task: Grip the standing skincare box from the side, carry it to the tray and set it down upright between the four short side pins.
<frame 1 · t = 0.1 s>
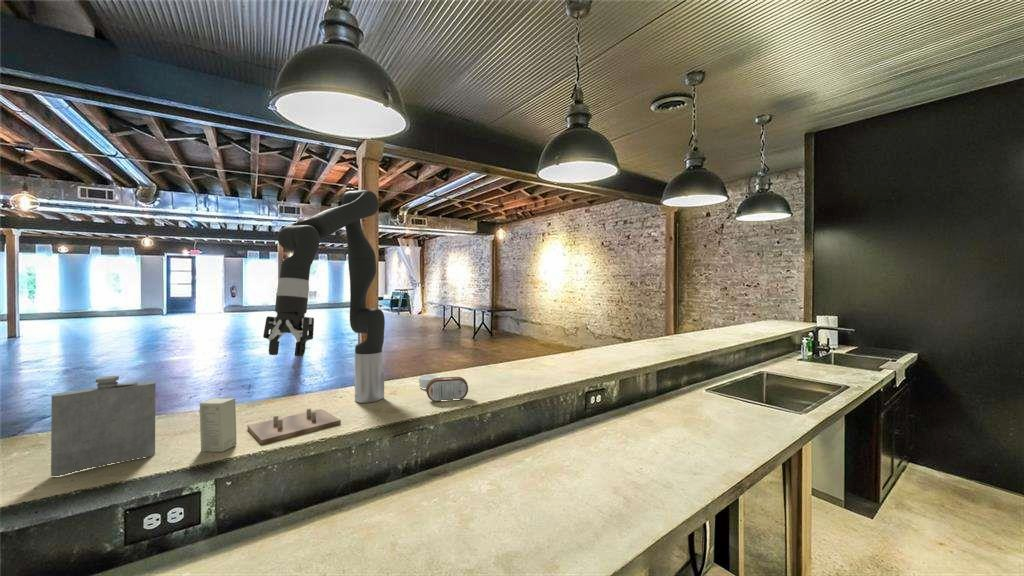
hand: (285, 355, 99), 22 cm above the worktop, tool pointing down, fingers open, 8 cm apart
skincare box: (218, 449, 92), on the worktop
pin tray: (295, 426, 107), on the worktop
hip flask: (106, 465, 84), on the worktop
ramekin: (429, 388, 150), on the worktop
tin: (447, 401, 132), on the worktop
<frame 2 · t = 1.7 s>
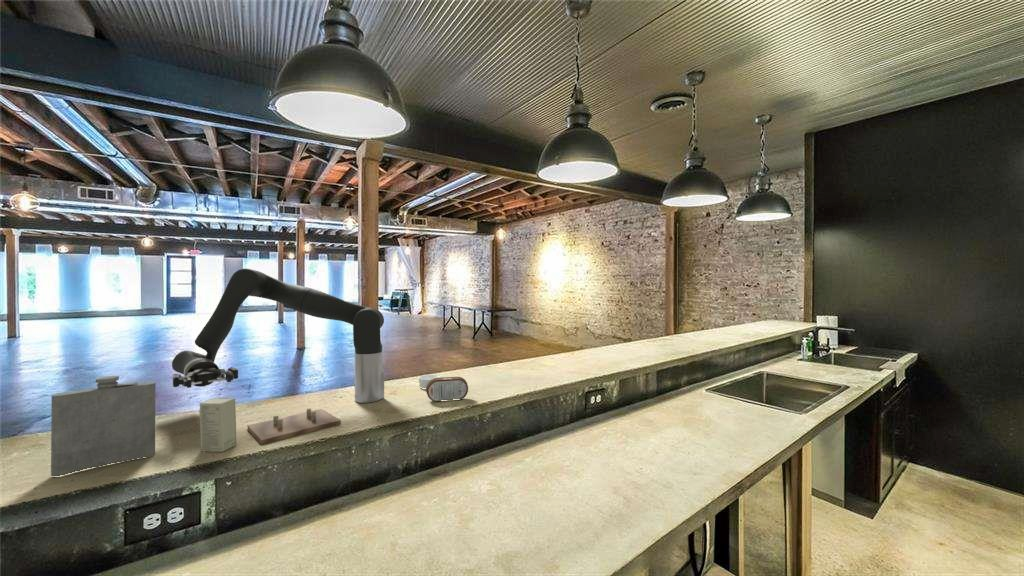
hand: (210, 381, 100), 15 cm above the worktop, tool horizontal, fingers open, 8 cm apart
nothing on the worktop moved.
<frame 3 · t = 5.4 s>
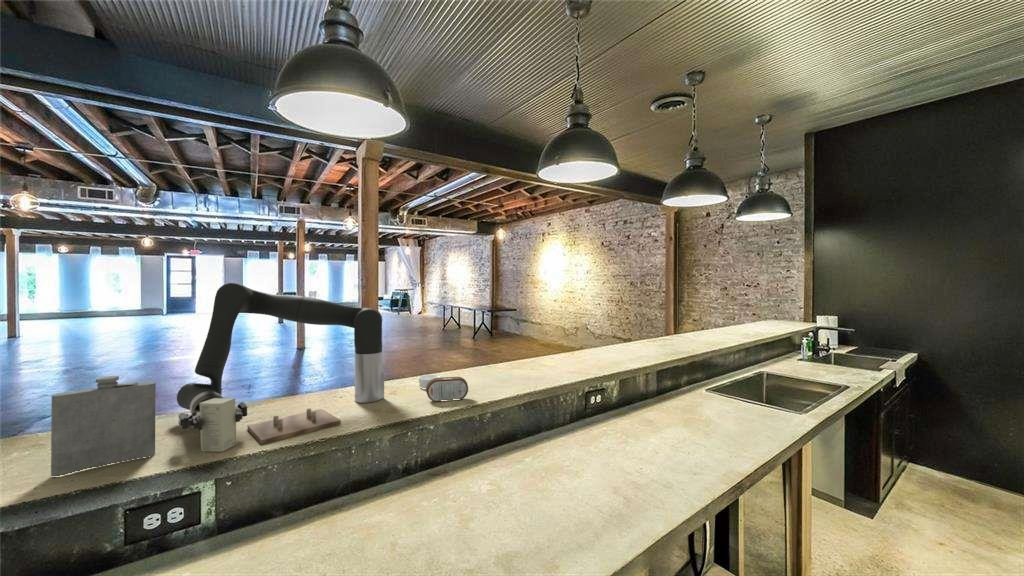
hand: (220, 421, 91), 7 cm above the worktop, tool horizontal, fingers closed on skincare box, 7 cm apart
skincare box: (218, 449, 92), on the worktop, touching gripper
everything else where it was.
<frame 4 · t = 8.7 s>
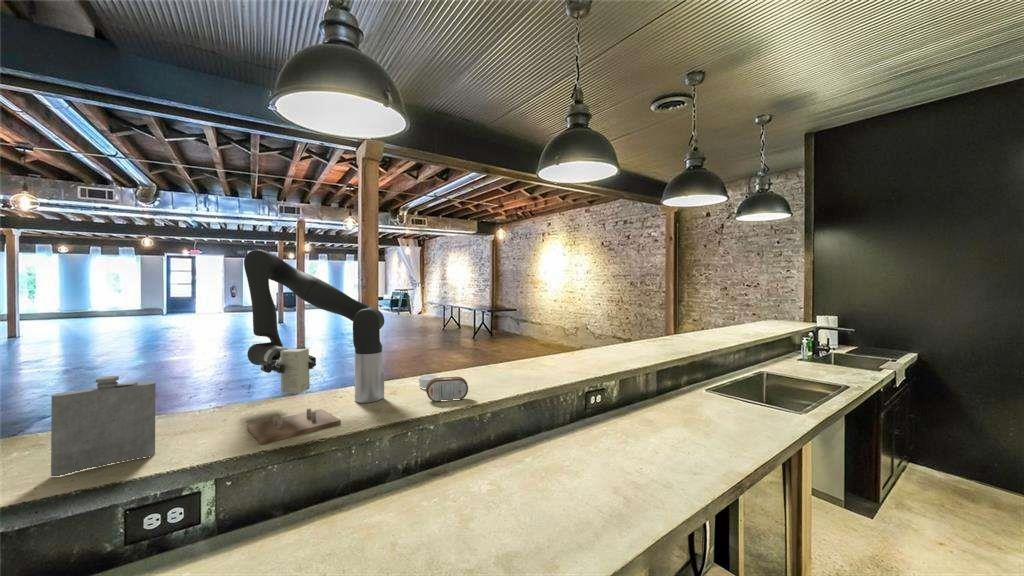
hand: (297, 367, 106), 18 cm above the worktop, tool horizontal, fingers closed on skincare box, 7 cm apart
skincare box: (295, 391, 107), point 10 cm above the worktop, touching gripper
everything else where it was.
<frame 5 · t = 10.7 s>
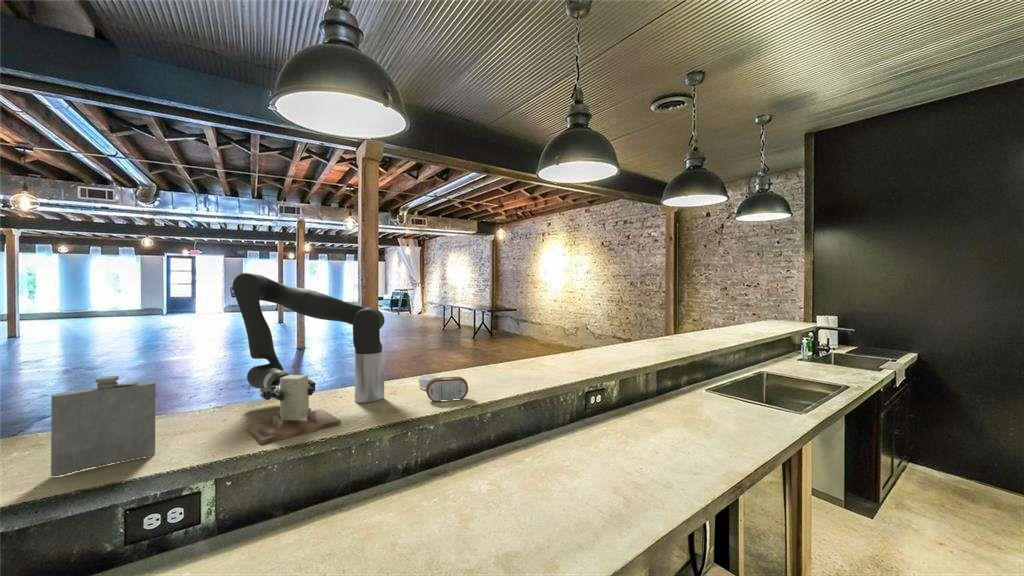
hand: (297, 394, 105), 10 cm above the worktop, tool horizontal, fingers closed on skincare box, 7 cm apart
skincare box: (294, 418, 107), point 2 cm above the worktop, touching gripper
everything else where it was.
when the fingers open (9 cm above the worktop, at t = 12.3 s): skincare box stays where it is, resting on pin tray.
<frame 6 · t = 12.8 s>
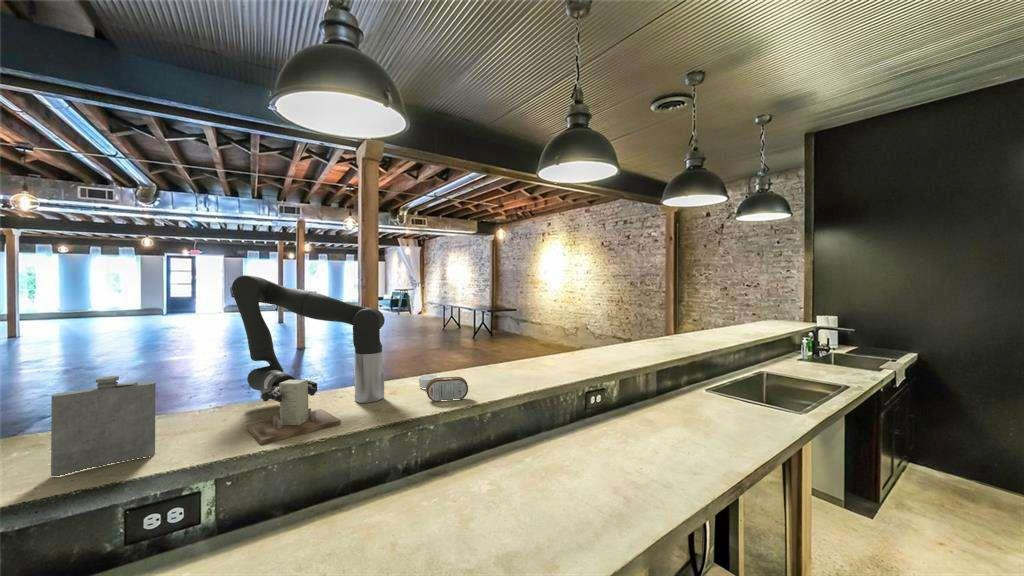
hand: (297, 395, 106), 10 cm above the worktop, tool horizontal, fingers open, 8 cm apart
skincare box: (294, 423, 107), point 1 cm above the worktop, touching pin tray
everything else where it was.
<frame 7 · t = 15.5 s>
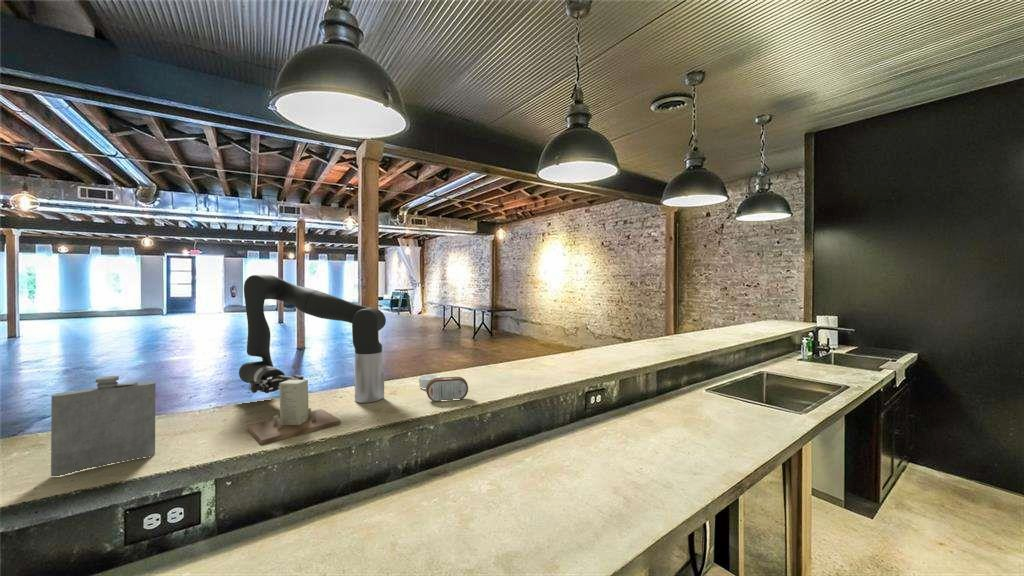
hand: (283, 387, 114), 10 cm above the worktop, tool horizontal, fingers open, 8 cm apart
nothing on the worktop moved.
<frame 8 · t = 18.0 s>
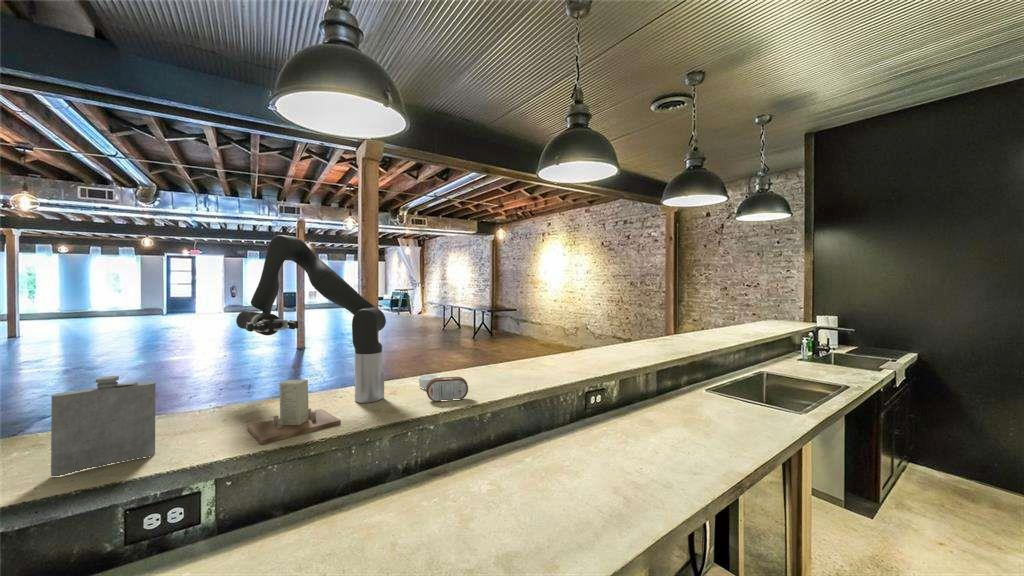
hand: (279, 327, 118), 28 cm above the worktop, tool horizontal, fingers open, 8 cm apart
nothing on the worktop moved.
at the end: skincare box 0.3 cm off-centre on the pin tray, point 1.0 cm above the pin tray's base; skincare box tilted 0°; the gripper is holding nothing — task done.
